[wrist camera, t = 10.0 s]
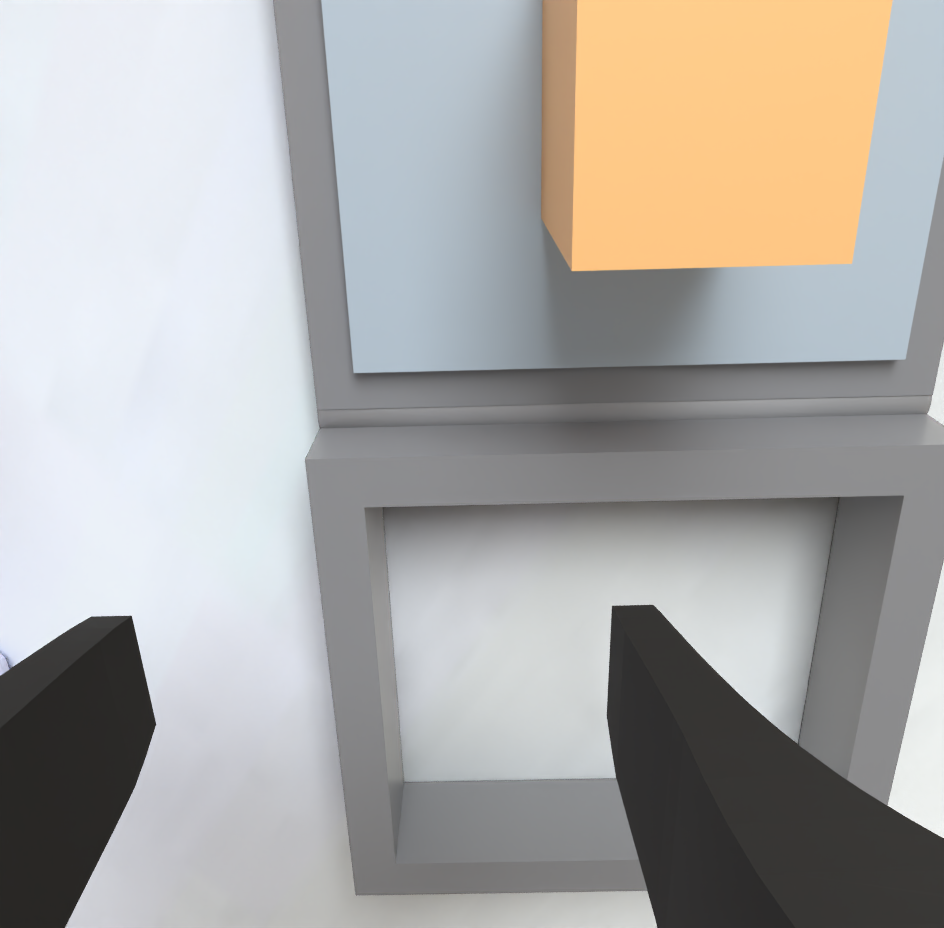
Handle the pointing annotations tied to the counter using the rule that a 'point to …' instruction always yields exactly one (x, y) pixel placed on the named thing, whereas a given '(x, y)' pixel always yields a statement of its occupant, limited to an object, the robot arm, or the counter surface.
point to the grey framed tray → (590, 399)
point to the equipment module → (707, 130)
